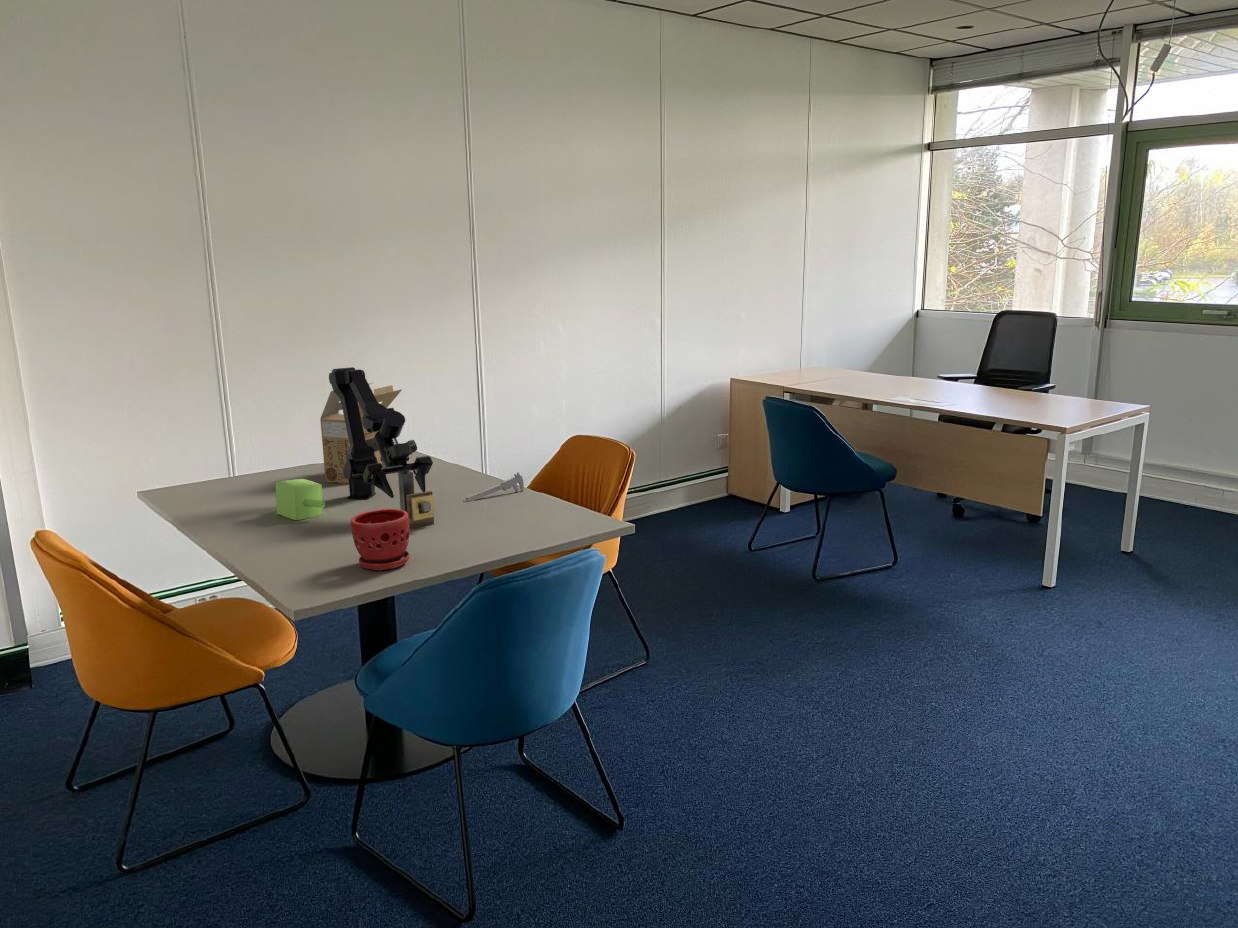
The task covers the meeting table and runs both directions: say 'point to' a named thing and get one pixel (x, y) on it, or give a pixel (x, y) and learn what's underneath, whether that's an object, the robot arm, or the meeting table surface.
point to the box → (345, 433)
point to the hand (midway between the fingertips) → (408, 494)
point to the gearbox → (299, 499)
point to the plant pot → (381, 538)
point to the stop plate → (422, 521)
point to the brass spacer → (415, 508)
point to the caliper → (499, 487)
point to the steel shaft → (409, 491)
